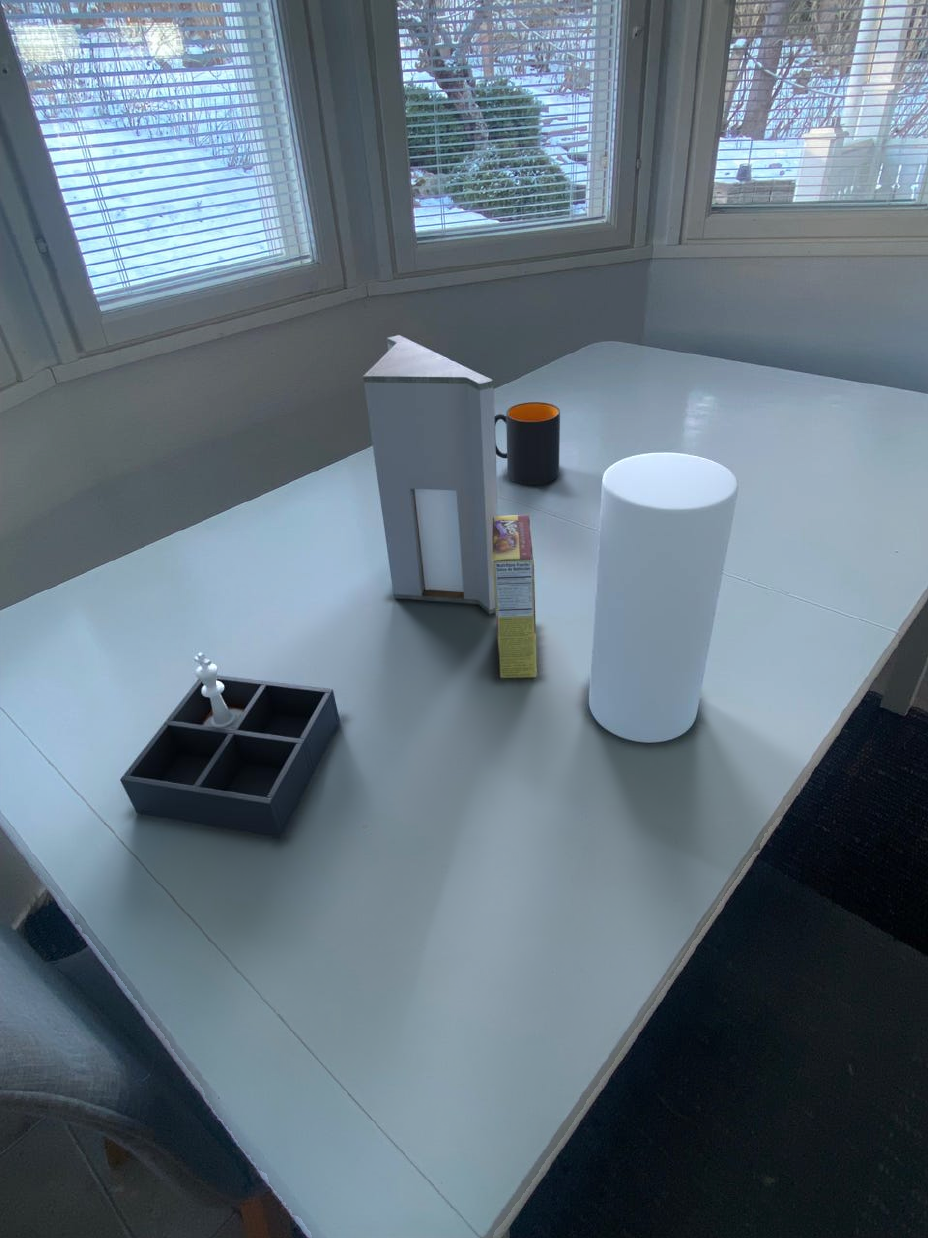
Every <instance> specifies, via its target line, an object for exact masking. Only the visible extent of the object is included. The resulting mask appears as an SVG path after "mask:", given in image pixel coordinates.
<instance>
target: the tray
mask: <svg viewBox="0 0 928 1238" xmlns="http://www.w3.org/2000/svg"><path fill="white" fill-rule="evenodd" d="M217 681H220V682H221V683H222V684H223V685H224V690H223V692H222V693H221V696H222V699H223V700H224V702H225V704H226V706H227V708H228V709H238V710H241V711H243V713H242V714H241V716H240V717H239V719H238V720H237V722H236V723H235V725H234V726H233V728H232V729H225V728H218V727H211V726H204V725H203V724H204V723H205V721H206V720H207V719H208V718H209V717H211V716H212V715H213V711H212V705H211V700H210V697H205V696H203V695H202V687H203V686H204V684H203V683H202V682H201V681H200V680H199V679H198V678H197V680H196V681H195V683H194V684H193V685H192V687H191V688H190V689H189V690H188V692H187V693H186V694H185V695H184V696H183V698H182V699H181V701H180V702H179V703H178V704H177V705H176V707H175V708H174V710H173V711H172V712H171V713H170V715H169V716H168V717H167V718H166V720H165V721H164V723H163V724H162V725H161V727H160V728H159V729H158V730H157V731H156V733H155V734H154V736H152V738H151V739H150V740H149V742H148V743H147V744H146V745H145V747H144V748H143V750H141V752H140V753H139V755H138V756H137V757H136V758H135V760H134V761H133V762H132V764H131V765H130V766H129V767H128V768H127V769H126V771H125V773H124V774H123V775H122V776H121V778H120V779H119V782H120V783H121V785H122V787H123V789H124V791H125V793H126V794H127V796H128V799H129V801H130V802H131V805H132V807H133V808H134V811H135V813H136V814H139V815H145V816H151V817H155V818H156V817H157V818H163V819H168V820H173V821H179V822H184V823H185V822H186V823H191V824H197V825H203V826H208V827H214V828H220V829H227V830H231V831H238V832H242V833H243V832H244V833H249V834H250V833H251V834H255V835H260V836H261V835H262V836H266V837H272V838H273V837H274V838H278V839H281V838H282V837H283V836H284V833H285V830H286V829H287V828H288V825H289V823H290V821H291V819H292V817H293V815H294V813H295V811H296V810H297V807H298V806H299V803H300V801H301V799H302V798H303V796H304V794H305V792H306V790H307V788H308V786H309V784H310V782H311V780H312V778H313V776H314V774H315V773H316V772H317V771H316V770H317V768H318V766H319V765H320V763H321V761H322V759H323V757H324V755H325V753H326V752H327V749H328V747H329V745H330V743H331V741H332V739H333V737H334V736H335V733H336V732H337V730H338V728H339V726H340V724H341V719H340V714H339V710H338V705H337V701H336V696H335V691H334V689H333V688H327V687H319V686H312V685H302V684H295V683H286V682H278V681H271V680H270V681H268V680H261V679H254V678H253V679H252V678H244V677H236V676H229V675H221V674H217Z"/></svg>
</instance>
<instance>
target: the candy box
mask: <svg viewBox="0 0 928 1238" xmlns="http://www.w3.org/2000/svg"><path fill="white" fill-rule="evenodd" d="M531 531H532V530H531V516H530V514H510V515H509V514H508V515H498V516H495V517H493V530H492V541H493V545H492V554H493V558H492V563H493V577H494V594H495V608H496V612H495V620H496V636H497V651H498V663H499V664H498V665H499V678H500V679H529V678H531V679H532V678H537V675H538V674H537V673H538V672H537V626H536V625H537V624H536V622H537V621H536V592H535V589H536V588H535V586H536V585H535V557H534V549H533V540H532V532H531Z"/></svg>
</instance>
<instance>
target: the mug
mask: <svg viewBox="0 0 928 1238" xmlns="http://www.w3.org/2000/svg"><path fill="white" fill-rule="evenodd" d="M500 420H502V421H503V422H504V423H505V427H506V429H505V431H506V452H505V453H504V452H502V451H500V449H499V448H498V446H497V437H496V435H495V444H496V456H497V457H499V458H501V459H506V462H507V463H506V464H507V470H506V471H507V477H508V478H509V479H510V480H511V481H512V482H514V483H516V484H520V485H523V486H524V485H525V486H540V485H545V484H548V483H551V482H553V481H555V480H556V479H557V478H558V477H559V475H560V449H561V448H560V445H561V444H560V443H561V441H560V440H561V410H560V408H559V407H558V406H556V405H554V404H552V403H548V402H540V401H530V402H529V401H528V402H522V403H517V404H515V405H513V406H511V407H509V408H507V410H506V412H505V414H502V413H499V414H496V415H495V426H497V422H498V421H500Z"/></svg>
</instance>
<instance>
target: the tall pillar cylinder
mask: <svg viewBox="0 0 928 1238" xmlns="http://www.w3.org/2000/svg"><path fill="white" fill-rule="evenodd" d="M738 493H739V482H738V479H737V478H736V475H734V473H733V472H732V471H731V470H729V469H728V468H727V467H725V466H724V465H722V464H720V463H718V462H715V461H713V460H710V459H707V458H705V457H701V456H695V455H691V454H686V453H677V452H651V453H650V452H649V453H641V454H636V455H633V456H629V457H625V458H623V459H620V460H618V461H616V462H615V463H613V464H611V465H610V466H609V467H608V468H607V469H606V470H605V471H604V473H603V475H602V481H601V496H600V498H601V499H600V514H599V529H598V530H599V531H598V544H597V545H598V547H597V563H596V577H595V578H596V579H595V592H594V593H595V595H594V611H593V629H592V641H591V642H592V644H591V659H590V660H591V661H590V676H589V694H588V706H589V709H590V712H591V715H592V716H593V718H594V719H595V721H596V722H597V723H598V724H599V725H600V726H601V727H602V728H604V729H605V730H607V731H608V732H610V733H612V734H613V735H615V736H617V737H619V738H622V739H625V740H629V741H632V742H636V743H637V742H638V743H648V744H649V743H663V742H667V741H671V740H673V739H676V738H678V737H680V736H682V735H683V734H685V733H686V732H687V731H689V729H690V728H691V727H692V726H693V724H694V723H695V721H696V718H697V715H698V709H699V705H700V700H701V699H700V698H701V693H702V688H703V682H704V676H705V673H706V672H705V671H706V666H707V660H708V655H709V651H710V645H711V639H712V633H713V629H714V624H715V623H714V622H715V617H716V611H717V607H718V601H719V597H720V590H721V586H722V585H721V584H722V579H723V574H724V568H725V563H726V557H727V552H728V546H729V542H730V538H731V537H730V536H731V530H732V526H733V525H732V524H733V521H734V520H733V519H734V516H735V515H734V514H735V509H736V503H737V498H738Z"/></svg>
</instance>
